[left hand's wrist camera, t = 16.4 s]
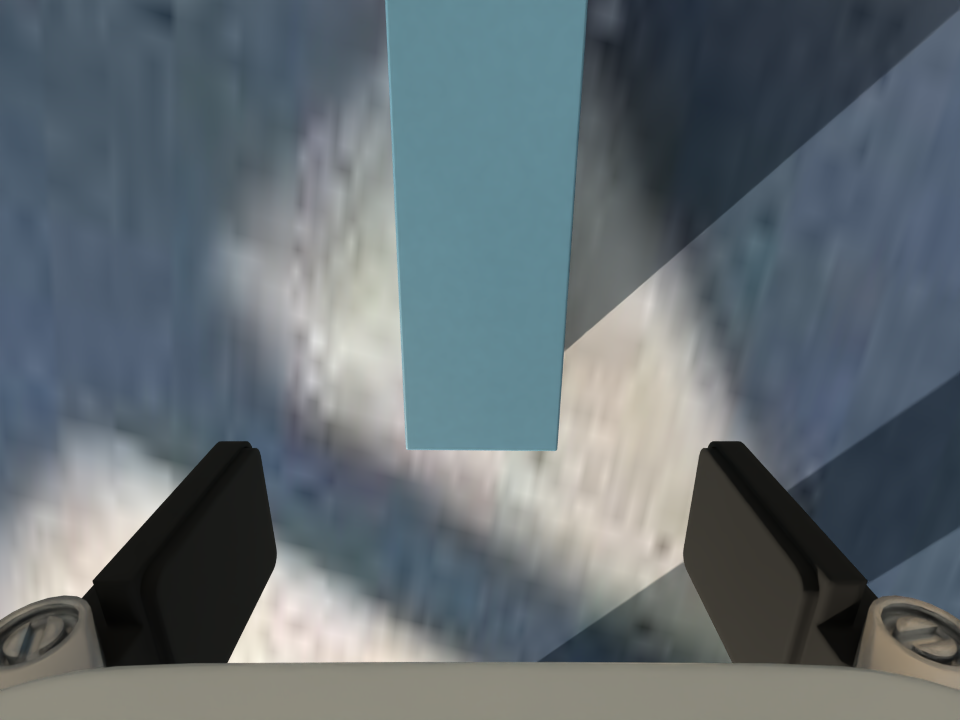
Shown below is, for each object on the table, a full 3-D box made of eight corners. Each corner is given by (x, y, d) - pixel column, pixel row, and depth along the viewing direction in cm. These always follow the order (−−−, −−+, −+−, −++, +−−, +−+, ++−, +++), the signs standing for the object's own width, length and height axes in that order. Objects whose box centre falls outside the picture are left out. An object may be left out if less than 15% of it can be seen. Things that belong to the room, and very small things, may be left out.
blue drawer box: (413, 14, 23) (382, -51, 16) (556, 16, 23) (591, -48, 16) (424, 375, 29) (405, 450, 21) (537, 375, 29) (557, 451, 22)
